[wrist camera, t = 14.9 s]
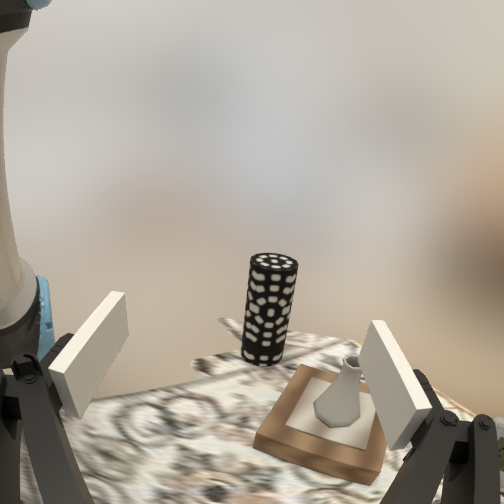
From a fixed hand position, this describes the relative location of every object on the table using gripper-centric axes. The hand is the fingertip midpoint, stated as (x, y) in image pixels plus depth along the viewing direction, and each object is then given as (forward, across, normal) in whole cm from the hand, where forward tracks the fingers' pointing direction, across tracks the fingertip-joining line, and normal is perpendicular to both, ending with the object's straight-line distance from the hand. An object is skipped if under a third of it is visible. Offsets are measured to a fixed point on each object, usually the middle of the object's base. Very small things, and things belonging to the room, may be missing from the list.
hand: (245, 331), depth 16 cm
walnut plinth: (+18, +15, -30) cm, 38 cm away
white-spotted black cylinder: (+37, +4, -31) cm, 48 cm away
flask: (+18, +15, -26) cm, 35 cm away
